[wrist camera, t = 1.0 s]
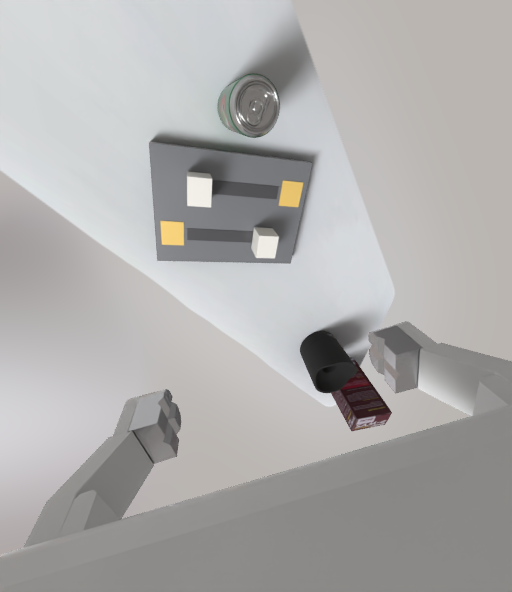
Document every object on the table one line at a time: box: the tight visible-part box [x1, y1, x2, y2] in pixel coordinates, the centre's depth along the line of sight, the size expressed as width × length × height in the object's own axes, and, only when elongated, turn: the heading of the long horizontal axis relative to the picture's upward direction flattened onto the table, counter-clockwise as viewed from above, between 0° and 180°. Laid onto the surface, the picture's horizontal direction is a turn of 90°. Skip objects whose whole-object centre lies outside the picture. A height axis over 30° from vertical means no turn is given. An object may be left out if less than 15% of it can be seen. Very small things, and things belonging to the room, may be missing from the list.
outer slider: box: [251, 227, 279, 258], centre depth 42 cm, size 4×3×4 cm
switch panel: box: [149, 141, 313, 263], centre depth 41 cm, size 16×22×2 cm
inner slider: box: [187, 171, 212, 208], centre depth 35 cm, size 4×3×4 cm
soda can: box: [218, 74, 280, 138], centre depth 30 cm, size 5×5×12 cm
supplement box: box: [331, 358, 392, 431], centre depth 63 cm, size 9×5×16 cm, turn 86°
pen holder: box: [300, 332, 357, 393], centre depth 60 cm, size 9×9×10 cm
